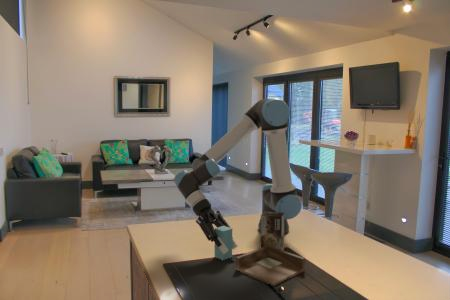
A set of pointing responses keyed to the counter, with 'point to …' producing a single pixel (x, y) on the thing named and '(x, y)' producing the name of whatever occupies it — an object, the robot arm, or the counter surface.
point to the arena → (270, 264)
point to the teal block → (226, 237)
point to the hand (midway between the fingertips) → (230, 249)
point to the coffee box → (272, 229)
